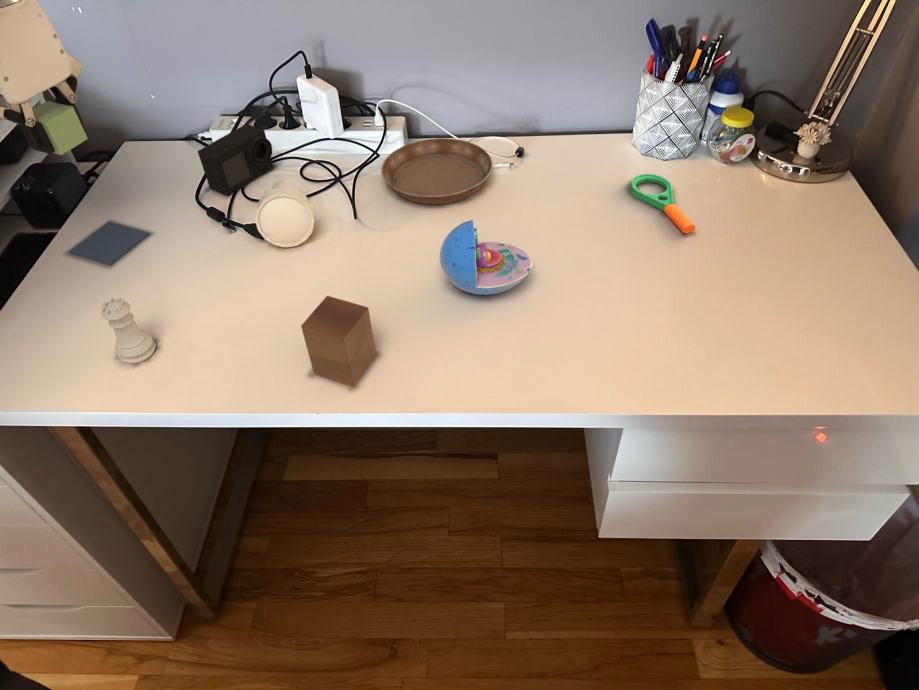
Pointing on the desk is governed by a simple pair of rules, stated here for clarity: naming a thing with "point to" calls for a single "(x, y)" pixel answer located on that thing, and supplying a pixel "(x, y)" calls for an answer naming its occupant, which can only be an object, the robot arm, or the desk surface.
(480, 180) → the plant saucer
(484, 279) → the cell model
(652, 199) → the magnifying glass
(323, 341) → the base block
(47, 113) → the top block
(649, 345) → the desk surface
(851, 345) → the desk surface
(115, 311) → the rook chess piece
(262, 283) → the desk surface
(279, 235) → the spotlight
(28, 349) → the desk surface
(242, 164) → the digital camera
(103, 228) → the coaster
